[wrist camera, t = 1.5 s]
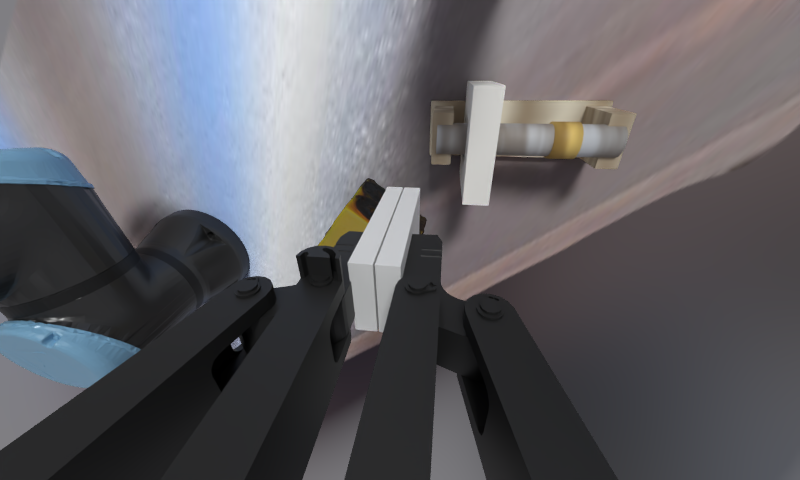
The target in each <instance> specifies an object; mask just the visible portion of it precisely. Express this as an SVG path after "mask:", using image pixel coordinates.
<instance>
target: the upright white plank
mask: <svg viewBox="0 0 800 480" xmlns="http://www.w3.org/2000/svg"><path fill="white" fill-rule="evenodd" d="M505 88H506V85H502V84H499V83H496V82H493V81H467V92H466V103H465V115H464V123H468V128H467V138H466V149H465V155H463V154H461V161H460V172H459V173H460V184H461V195H462V205H485V206H488V205H489V198H490V191H491V184H492V177H493V170H494V163H495V157H496V150H497V143H498V136H499V129H500V122H501V115H502V108H503V101H504V94H505Z"/></svg>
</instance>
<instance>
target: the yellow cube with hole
mask: <svg viewBox="0 0 800 480" xmlns="http://www.w3.org/2000/svg"><path fill="white" fill-rule="evenodd" d="M385 191H386V190H385V189H384V188H382V187H381V186H379V185H378V184H377V183H376V182H375V181H374V180H372V179H369V178H368V179H366V180H365V182H364V183H363V184H362V185H361V186H360V188H359V189H358V191H357V192H356V194H355V195H354V197H353V198H352V199H351V200H350V202H349V203H348V204H347V205H346V206H345V208H344V209H343V210H342V212H341V213H340V214H339V216H338V217H337V219H336V220H335V221H334V223H333V225H332V226H331V227H330V229H329V230H328V231H327V232H326V234H325V237H324V238H323V240H322V241H321V242H320V243H319V245H318V246H331V247H334V246H335V245H336V243H337V241H338V240H339V238H340V237H341V236H342V235H344V234H345V233H347V232H348V231H357V232H364V231H365V229H366V227H367V225H368V223H369V221H370V219H371V217H372V215H373V213H374V212H375V210H376V208H377V206H378V204H379V202H380V200H381V198H382V196H383V194H384V193H385ZM426 221H427V220H426V218H425V217H422V216H421V215H420V221H419V234H423V233H424V227H425V225H426Z"/></svg>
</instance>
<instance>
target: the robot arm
mask: <svg viewBox="0 0 800 480" xmlns="http://www.w3.org/2000/svg"><path fill="white" fill-rule="evenodd" d="M419 221H420V188H408V187H404V190H403V187H387V189H386V191H385V193H384V194H383V196H382V198H381V200H380V202H379V204H378V206H377V208H376V210H375V212H374V213H373V215H372V217H371V219H370V221H369V223H368V225H367V227H366V229H365V231H364V232H357V231H348V232H347V233H345V234H344V235H342V236H341V237H340V238H339V240H338V241H337V243H336V245H335V246H334V247H331V246H314V247H310V248H307V249H305V250H303V251H301V252H300V253H298V254H297V255H296V258H297V263H298V267H299V271H300V276H301V279H300V280H299V282H298V283H297V285H293V286H287V287H279V288H273V284H272V282H271V280H270V279H268V278H266V277H260V276H256V277H248V278H245V277H246V275H247V273H248V269H249V259H248V255H247V252H246V249H245V247H244V245H243V244H242V242H241V241H240V239H239V238H238V236H237V235H236V234H235V233H234V232H233V231H232V230H231V229H230V228H229V227H228V226H227V225H225V224H224V223H223V222H221V221H220V220H218V219H216V218H215V217H213V216H211V215H208V214H206V213H203V212H199V211H194V210H181V211H177V212H175V213H173V214H171V215H169V216H167V217H165V218H163V219H162V220H160V221H159V222H158V223H157V224H156V225H155V227H154V228H153V229H152V230H151V231H150V233H149V234H148V235H147V236H146V237H145V238H144V240H143V241H142V242H141V243H140V244H139V246H138V247H137V248H136V249H134V247H133V246H132V244H131V243H130V241H129V240H128V239H127V237H126V236H125V234H124V233H123V232H122V230H121V229H120V227H119V226H118V225H117V223H116V222H115V220H114V219H113V217H112V216H111V215H110V213H109V212H108V210H107V209H106V207H105V206H104V204H103V203H102V201H101V200H100V198H99V197H98V195H97V194H96V192H95V191H94V186H93V185H92V184H90V183H88V182H87V180H86V179H85V178H84V177H83V176H82V174H81V173H80V172H79V171H78V169H77V168H76V167H75V165H74V164H73V163H72V162H71V160H70V159H69V158H67V157H66V156H65V155H63V154H62V153H60V152H57V151H55V150H52V149H47V148H13V149H0V312H1V313H3V315H5V316H6V317H7V319H8V321H5V322H3V323H1V324H0V353H1V354H3V356H5V357H6V358H8V359H9V360H11V361H12V362H14V363H16V364H18V365H19V366H21V367H23V368H25V369H27V370H29V371H31V372H33V373H35V374H38V375H40V376H42V377H45V378H47V379H50V380H53V381H56V382H59V383H63V384H66V385H71V386H76V387H81V388H87V389H86V390H84V391H83V392H82V393H80V394H79V395H77V396H76V397H74V398H73V399H72V400H70V401H69V402H68V403H66V404H65V405H63V406H62V407H60V408H59V409H58V410H56V411H55V412H54V413H52V414H51V415H49V416H48V417H47V418H45V419H44V420H43V421H41V422H40V423H38V424H37V425H35V426H34V427H33V428H31V429H30V430H28V431H27V432H26V433H24V434H23V435H21V436H20V437H19V438H17V439H16V440H14V441H13V442H12V443H10V444H9V445H7V446H6V447H5V448H3V449H2V450H0V480H302V479H303V475H304V473H305V470H306V467H307V464H308V461H309V459H310V456H311V453H312V450H313V447H314V444H315V441H316V439H317V436H318V433H319V430H320V428H321V425H322V422H323V419H324V416H325V413H326V411H327V408H328V405H329V402H330V399H331V396H332V394H333V391H334V388H335V385H336V382H337V379H338V377H339V374H340V371H341V368H342V365H343V363H344V360H345V357H346V354H347V351H348V348H349V346H350V343H351V330H350V328H351V325H352V323H353V320H355V329H358V330H367V331H378V327H379V332H383V335H382V339H381V342H380V347H379V351H378V354H377V358H376V362H375V365H374V369H373V373H372V377H371V381H370V385H369V388H368V392H367V396H366V400H365V403H364V407H363V411H362V415H361V419H360V422H359V426H358V430H357V434H356V438H355V442H354V446H353V449H352V453H351V457H350V461H349V464H348V469H347V472H346V476H345V480H430V473H431V453H432V435H433V417H434V398H435V381H436V364H437V365H439V366H441V367H444V368H446V369H448V370H451V371H453V372H455V373H457V378H458V381H459V385H460V388H461V392H462V395H463V399H464V402H465V406H466V409H467V413H468V416H469V420H470V424H471V427H472V431H473V434H474V437H475V441H476V445H477V448H478V452H479V455H480V459H481V462H482V465H483V469H484V473H485V476H486V480H618V479H617V477H616V475H615V474H614V472H613V470H612V469H611V467H610V466H609V464H608V462H607V460H606V459H605V457H604V456H603V454H602V452H601V451H600V449H599V447H598V446H597V444H596V442H595V441H594V439H593V437H592V436H591V434H590V432H589V431H588V429H587V428H586V426H585V424H584V422H583V421H582V419H581V417H580V416H579V414H578V413H577V411H576V409H575V408H574V406H573V404H572V403H571V401H570V399H569V398H568V396H567V394H566V393H565V391H564V389H563V388H562V386H561V384H560V383H559V381H558V380H557V378H556V376H555V375H554V373H553V371H552V370H551V368H550V366H549V365H548V363H547V361H546V360H545V358H544V356H543V355H542V353H541V351H540V350H539V348H538V346H537V345H536V343H535V341H534V340H533V338H532V337H531V335H530V333H529V332H528V330H527V328H526V327H525V325H524V323H523V322H522V320H521V318H520V317H519V315H518V314H517V312H516V310H515V308H514V307H513V306H512V305H511V304H510V303H509V302H508V301H506V300H505V299H503V298H501V297H499V296H495V295H492V294H478V295H474V296H472V297H471V298H469V299H468V300H467V301H463V300H460V299H457V298H455V297H453V296H451V295H449V294H448V293H447V292H446V291H445V290H444V289H443V287H442V286H441V260H442V241H441V240H440V238H439V237H438V236H437V235H424V234H419ZM244 278H245V279H244ZM206 302H207V303H206ZM204 303H206V304H204ZM202 304H204V305H203V306H202V307H200V306H201V305H202ZM199 307H200V308H199ZM198 308H199V309H198ZM238 337H239V338H240V341H241V343H242V344H241V345H240V346H238V347H237V348H235V349H232V347H231V345H230V344H231V343H232V342H233V341H234V340H235V339H237V338H238Z"/></svg>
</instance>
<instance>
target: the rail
mask: <svg viewBox="0 0 800 480" xmlns="http://www.w3.org/2000/svg"><path fill="white" fill-rule="evenodd" d="M465 103H466V101H431V122H430V150H429V155H431V164H442V165H450V161H451V155H459V156H461V154H463V155H465V149H466V138H467V128H468V123H464V115H465ZM612 104H613V101H611V100H598V101H503V108H502V115H501V122H500V129H499V136H498V143H497V150H496V156H504V157H545V158H549V159H574V158H580V159H582V160H583V161H585V162H586V163H588V164H589V165H591V166H592V167H593V168H595V169H617V168H618V165H619V162H620V159H621V157H622V154H623V151H624V148H625V146H626V143H627V140H628V137H629V134H630V131H631V128H632V125H633V123H634V120H635V117H636V113H632V112H628V111H624V110H620V109H616V108H612Z"/></svg>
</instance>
